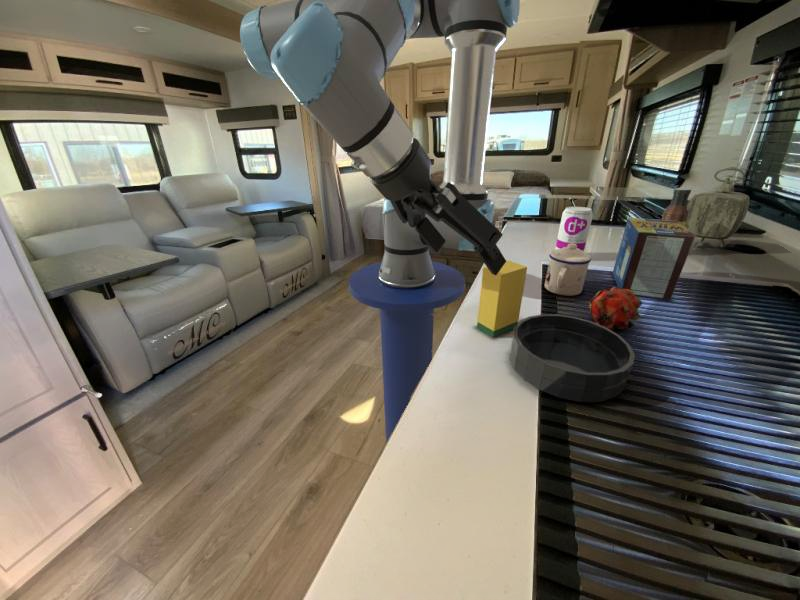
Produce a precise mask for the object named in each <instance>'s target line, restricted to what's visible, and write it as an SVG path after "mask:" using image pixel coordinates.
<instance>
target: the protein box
mask: <svg viewBox="0 0 800 600" xmlns="http://www.w3.org/2000/svg"><path fill="white" fill-rule="evenodd" d="M695 238H696V237H695V235H694V234H693V233H691V232H690V231H689V230H688V229H686V228H685V227H684V226H682V225H681V224H679V223H678V222H677V221H675V220H661V219H659V218H658V219H656V218H644V217H643V218H641V217H640V218H639V217H628V218H627V221H626V224H625V228H624V230H623V234H622V238H621V242H620V244H619V249H618V252H617V255H616V259H615V263H614V266H613V270H612V275H613V278H614V280H615V283H616V287H620V289H629V290H632V291H633V292H634V295H636V296H637V297H644V298H650V299H651V298H652V299H658V300H666V301H672V298H673V295H674V293H675V290H676V287H677V285H678V282H679V280H680V277H681V275H682V272H683V269H684V267H685V265H686V261H687V259H688V256H689V254H690V251H691V248H692V246H693V243H694V241H695Z"/></svg>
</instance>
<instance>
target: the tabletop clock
mask: <svg viewBox="0 0 800 600" xmlns="http://www.w3.org/2000/svg"><path fill="white" fill-rule="evenodd" d="M726 171H734V172H738V173H740V174H741V175H742V176H741V178H738V179H731V178H730V177H725V179H721V178H718V177H717V175H718V174H719V173H721V172H726ZM713 177H714V180H716V181H718V182H719V184H717V185H715V186H714V187H713V189H711V190H709V189H708V190H704V191H703V190H702V191H699V192H697V193H694V195H693V196H692V197H691V198H690V199H689V201H688V202H687V204H686V205H687V210H688V215H687V220H686V223H685V228H686V229H688V230H689V231H690V232H691V233H693V234H694V235H695V238H700V242H698V243H697V244H696V247H697V248H700V249H701V248H703V247H704V240H705V239H708V240H709V239H710V240H719V241H720V243H721V244H720V248H721V249H726V248H727V246H728V244H727V243H726V242H725V240H727V239H730V238H731V237H732V236H733V235H734V234H735V233H736V232H737V231H738V230H739V228H740V227H741V225H742V223H743V222H744V219H746V215H747V213H748V210H749V207H750V203H751V200H750V195H747V194H745V193H743V192H738V191H737V192H736V191H735V186H734V185H733V184H731V183H736V182H737V183H738V182H740V181H742V180H743V179H744V178H745V172H744V170H742V169H740V168H736V167H725V168H721V169H719V170H718V171H716V172H715V173H714V175H713Z"/></svg>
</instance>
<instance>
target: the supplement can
mask: <svg viewBox="0 0 800 600" xmlns="http://www.w3.org/2000/svg"><path fill="white" fill-rule="evenodd" d="M593 217H594V214H593V211H592V208H589V207H585V206H566V207H565V209H564V210H563V211H562V214H561V219H560V223H559V229H558V234H557V239H556V244H555V248H554V250H556V249H561V248H564V247H567V246H568V244H570V243H573V244H576V245H577V248H578V249H580V250H581V251H583V252H585V250H586V245H587V240H588V238H589V232H590V229H591V225H592V221H593Z"/></svg>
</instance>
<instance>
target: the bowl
mask: <svg viewBox="0 0 800 600" xmlns="http://www.w3.org/2000/svg"><path fill="white" fill-rule="evenodd" d="M635 356H636V355H635V353H634V351H633V348H632V346H631V345H630V344H629V342H627V340H625V338H623V337H622V336H621V335H619V334H618V333H616V332H615V331H613V330H610V329H608V328H606V327H604V326H601V325H599V324H596V323H595V321H592V320H588V319H584V318H580V317H576V316H571V315H565V314H557V313H555V314H553V313H552V314H551V313H549V314H545V313H544V314H543V313H542V314H537V315H530V316H527V317H525V318H523V319H521V320H518V324H517V325H516V326H515V327H514V329H513V331H512V338H511V344H510V349H509V362H510V365H511V366H512V369H513V370H514V372H516V373H517V374H518V376H520V377H521V379H522V380H524V382H526V383H528V384H529V385H531V386H532V387H534V388H535V389H537V390H539V391H541V392H543V393H546V394H548V395H551V396H554V397H555V398H559V399H563V400H567V401H568V400H569V401H573V402H579V403H601V402H605V401H608V400H612V399H616V397H618V395H620V394H621V393H623V392H624V390H625V388H626V384H627V381H628V379H629V377H630V373H631V370H632V368H633V365H634V361H635Z"/></svg>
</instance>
